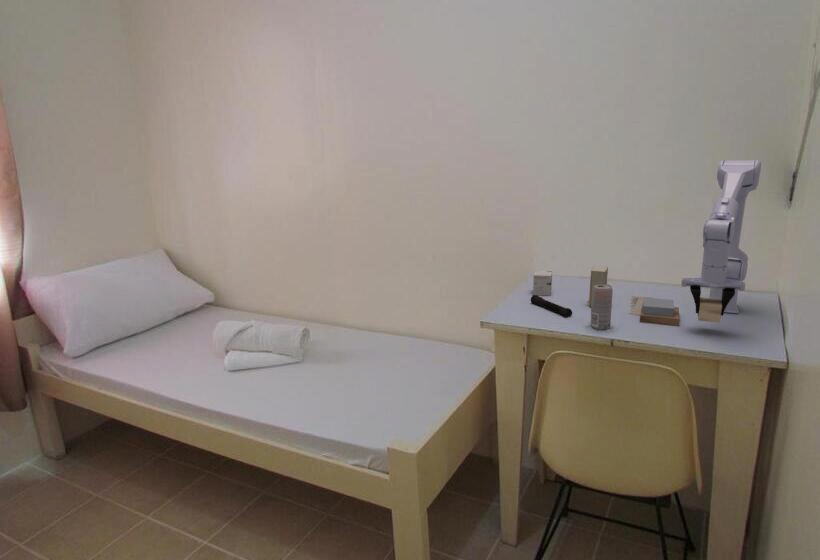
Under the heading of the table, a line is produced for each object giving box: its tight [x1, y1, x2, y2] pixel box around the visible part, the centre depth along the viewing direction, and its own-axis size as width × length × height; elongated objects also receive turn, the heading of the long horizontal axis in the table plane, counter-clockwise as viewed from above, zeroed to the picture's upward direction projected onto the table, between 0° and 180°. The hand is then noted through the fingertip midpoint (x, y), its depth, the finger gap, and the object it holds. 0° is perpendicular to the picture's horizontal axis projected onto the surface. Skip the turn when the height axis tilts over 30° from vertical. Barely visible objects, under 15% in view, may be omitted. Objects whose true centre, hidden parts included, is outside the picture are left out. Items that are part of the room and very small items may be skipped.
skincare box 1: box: [532, 270, 553, 297], centre depth 180 cm, size 6×6×7 cm
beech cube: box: [697, 296, 722, 323], centre depth 140 cm, size 5×5×5 cm
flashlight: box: [530, 294, 573, 318], centre depth 164 cm, size 3×16×3 cm, turn 25°
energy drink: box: [590, 283, 613, 330], centre depth 147 cm, size 5×5×12 cm
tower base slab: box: [639, 304, 680, 327], centre depth 153 cm, size 10×10×2 cm
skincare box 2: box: [588, 265, 609, 307], centre depth 165 cm, size 6×4×12 cm
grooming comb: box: [628, 296, 659, 317], centre depth 163 cm, size 18×10×1 cm, turn 149°
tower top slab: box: [643, 297, 675, 317], centre depth 152 cm, size 8×8×2 cm
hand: (709, 313), depth 140 cm, fingers closed on beech cube, 5 cm apart
